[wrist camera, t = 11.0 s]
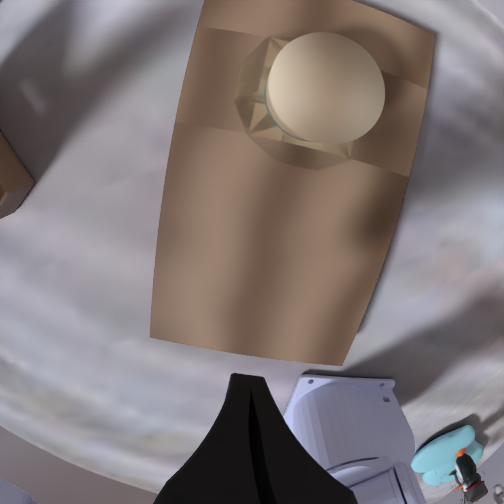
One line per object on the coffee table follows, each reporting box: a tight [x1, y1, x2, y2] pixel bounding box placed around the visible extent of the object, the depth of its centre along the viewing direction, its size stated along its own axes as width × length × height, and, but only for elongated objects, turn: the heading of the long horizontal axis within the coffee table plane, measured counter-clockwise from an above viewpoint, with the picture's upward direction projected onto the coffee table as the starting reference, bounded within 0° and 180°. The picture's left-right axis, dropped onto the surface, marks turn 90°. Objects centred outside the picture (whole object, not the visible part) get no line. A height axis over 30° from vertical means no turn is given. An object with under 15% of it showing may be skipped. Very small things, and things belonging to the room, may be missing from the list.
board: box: [150, 0, 435, 366], centre depth 19 cm, size 14×24×2 cm, turn 168°
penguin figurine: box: [411, 425, 504, 504], centre depth 26 cm, size 20×11×15 cm, turn 38°
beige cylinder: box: [264, 32, 385, 144], centre depth 15 cm, size 5×5×6 cm
